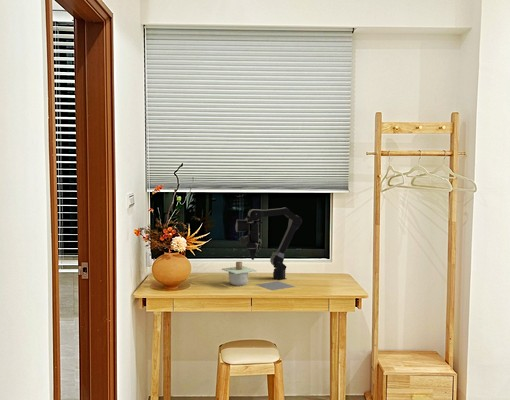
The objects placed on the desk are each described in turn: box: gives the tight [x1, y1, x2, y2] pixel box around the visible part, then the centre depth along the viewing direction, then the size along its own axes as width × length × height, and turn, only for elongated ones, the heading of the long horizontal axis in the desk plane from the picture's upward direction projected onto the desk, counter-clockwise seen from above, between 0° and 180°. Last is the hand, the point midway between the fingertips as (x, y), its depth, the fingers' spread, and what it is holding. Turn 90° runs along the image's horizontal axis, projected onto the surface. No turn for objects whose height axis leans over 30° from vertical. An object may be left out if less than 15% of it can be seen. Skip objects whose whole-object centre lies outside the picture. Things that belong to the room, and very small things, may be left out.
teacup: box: [228, 272, 249, 287], centre depth 322 cm, size 14×11×8 cm
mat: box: [255, 280, 297, 291], centre depth 318 cm, size 16×16×1 cm
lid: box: [221, 261, 257, 274], centre depth 321 cm, size 14×14×5 cm
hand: (253, 258), depth 332 cm, fingers open, 9 cm apart
